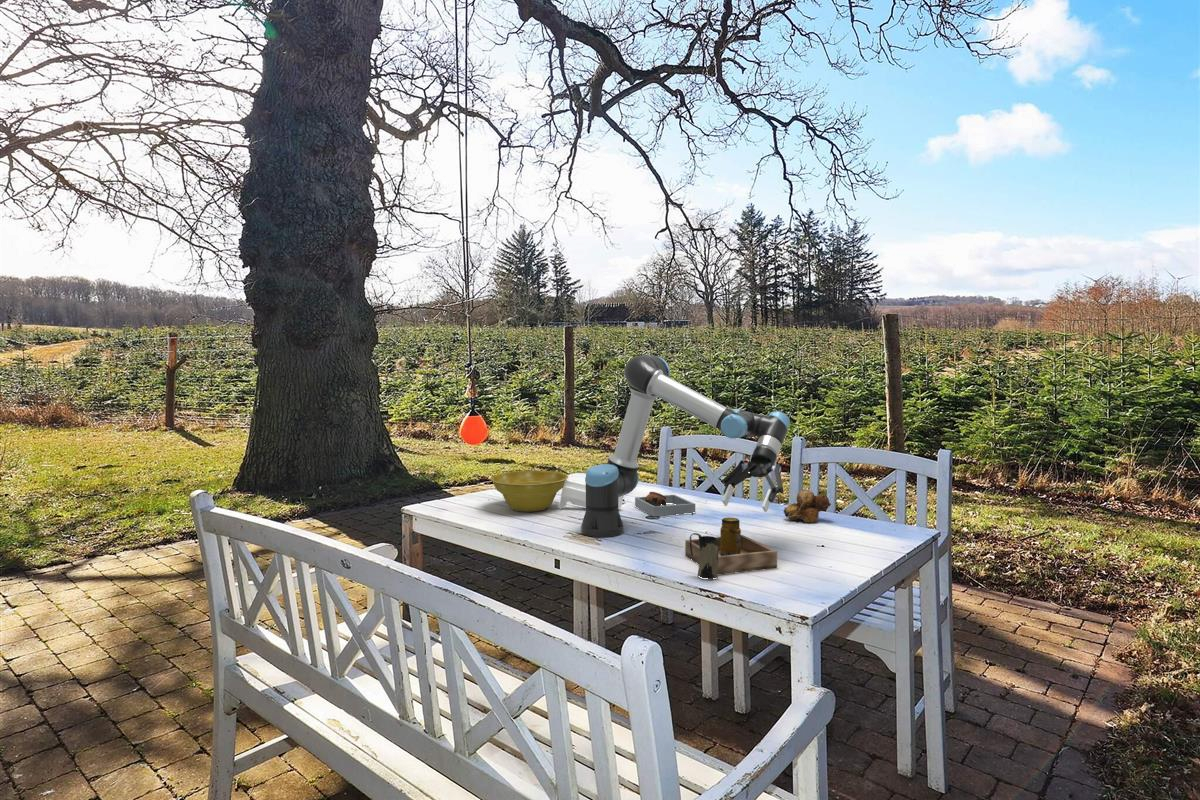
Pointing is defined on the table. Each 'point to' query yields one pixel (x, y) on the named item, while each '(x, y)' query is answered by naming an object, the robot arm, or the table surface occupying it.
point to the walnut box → (739, 556)
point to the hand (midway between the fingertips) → (743, 506)
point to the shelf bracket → (577, 494)
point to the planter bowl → (529, 488)
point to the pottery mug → (655, 499)
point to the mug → (707, 556)
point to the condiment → (730, 537)
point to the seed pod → (807, 506)
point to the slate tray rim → (679, 508)
